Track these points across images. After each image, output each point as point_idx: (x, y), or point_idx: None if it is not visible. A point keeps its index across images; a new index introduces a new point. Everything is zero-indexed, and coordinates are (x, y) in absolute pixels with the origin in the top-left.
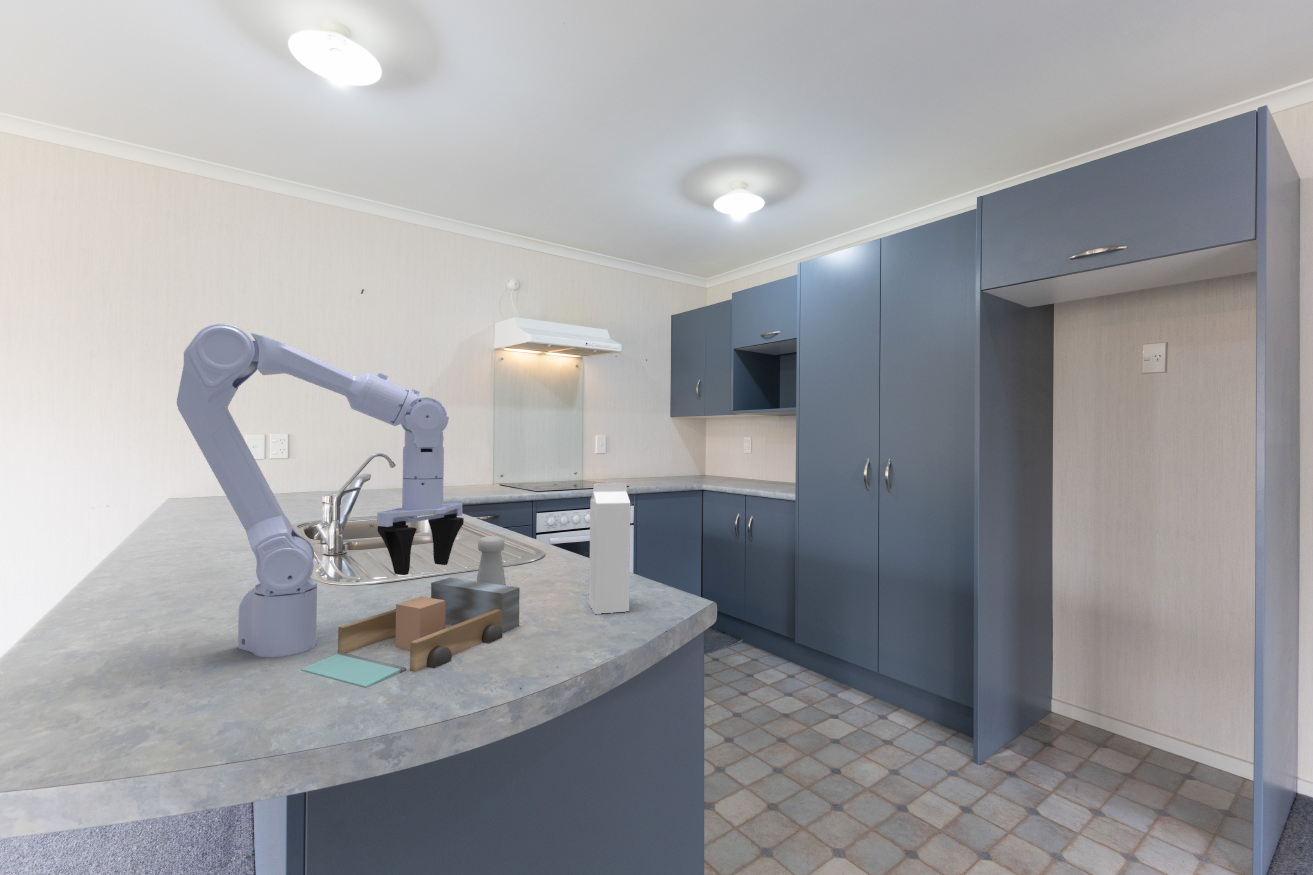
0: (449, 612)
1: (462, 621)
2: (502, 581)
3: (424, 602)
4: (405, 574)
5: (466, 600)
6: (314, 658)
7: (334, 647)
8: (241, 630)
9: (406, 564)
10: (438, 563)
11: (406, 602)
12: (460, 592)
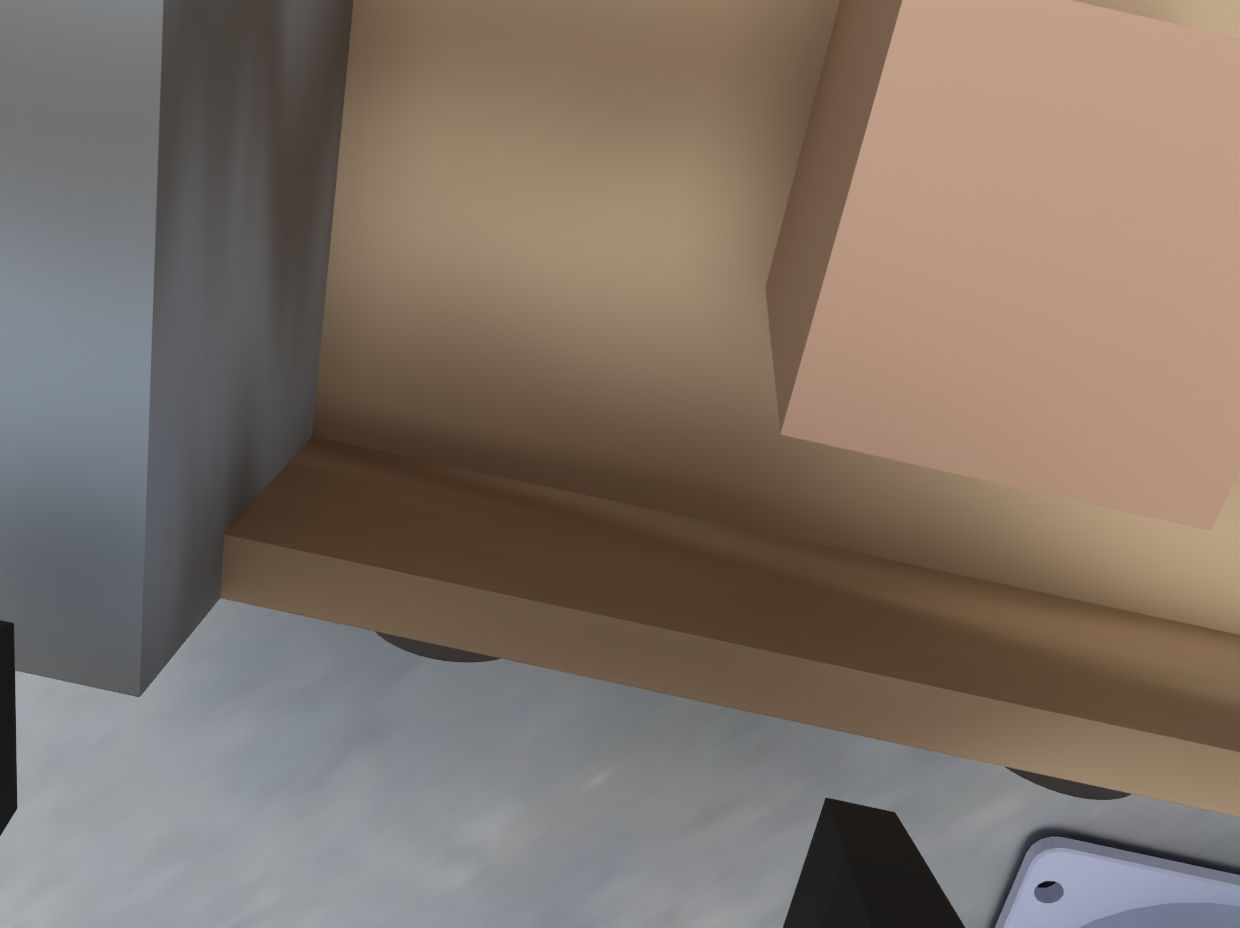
0: (284, 298)
1: (325, 98)
2: None
3: (1078, 216)
4: (882, 814)
5: (236, 60)
6: (1212, 827)
7: (975, 841)
8: None
9: (944, 919)
10: (8, 749)
11: (1112, 452)
12: (190, 185)
